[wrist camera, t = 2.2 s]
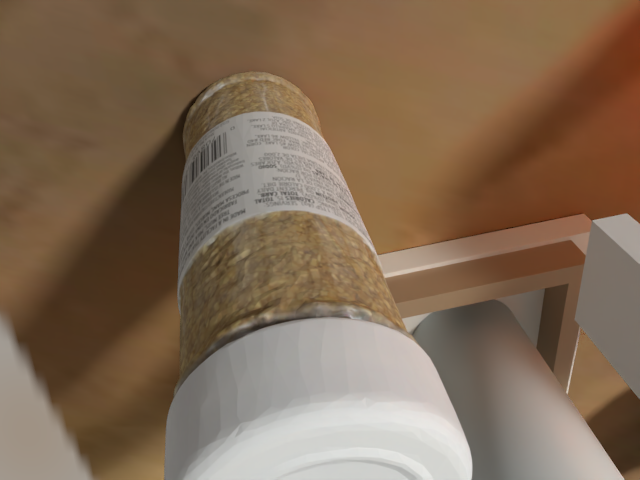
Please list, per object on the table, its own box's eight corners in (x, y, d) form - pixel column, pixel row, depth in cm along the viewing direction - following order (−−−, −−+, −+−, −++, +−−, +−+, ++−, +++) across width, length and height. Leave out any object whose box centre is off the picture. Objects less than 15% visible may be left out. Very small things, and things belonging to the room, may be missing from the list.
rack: (318, 267, 23) (331, 312, 20) (584, 213, 23) (624, 251, 21) (355, 512, 33) (366, 559, 31) (538, 469, 34) (561, 512, 32)
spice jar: (249, 217, 21) (307, 630, 10) (151, 131, 18) (85, 553, 8) (347, 135, 20) (535, 501, 9) (257, 33, 17) (359, 362, 6)
